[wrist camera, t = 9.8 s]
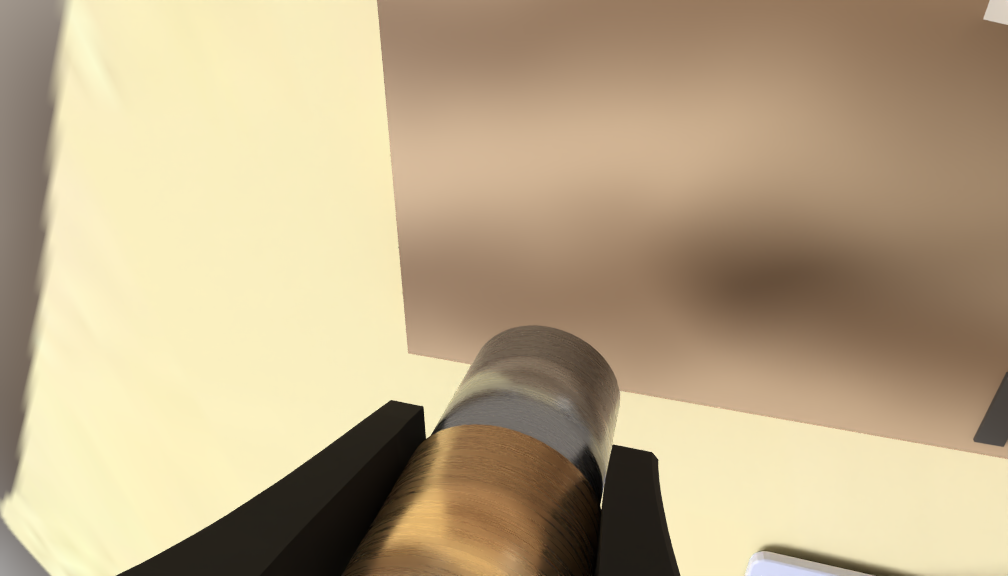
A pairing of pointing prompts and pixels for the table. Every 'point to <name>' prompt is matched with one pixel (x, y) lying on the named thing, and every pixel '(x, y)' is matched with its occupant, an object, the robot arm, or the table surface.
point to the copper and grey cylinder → (505, 468)
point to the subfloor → (717, 199)
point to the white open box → (997, 11)
